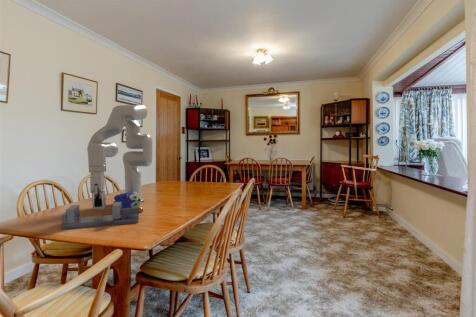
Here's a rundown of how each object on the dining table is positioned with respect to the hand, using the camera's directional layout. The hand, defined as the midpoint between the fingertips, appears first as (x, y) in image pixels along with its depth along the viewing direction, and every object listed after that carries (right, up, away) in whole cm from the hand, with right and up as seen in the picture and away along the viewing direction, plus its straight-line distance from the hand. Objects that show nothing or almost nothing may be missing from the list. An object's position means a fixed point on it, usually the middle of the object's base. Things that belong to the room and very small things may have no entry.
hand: (99, 204), depth 131 cm
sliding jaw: (+17, -4, -7) cm, 19 cm away
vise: (+7, -6, -10) cm, 14 cm away
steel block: (0, -2, 0) cm, 2 cm away
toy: (+8, -6, +15) cm, 17 cm away
